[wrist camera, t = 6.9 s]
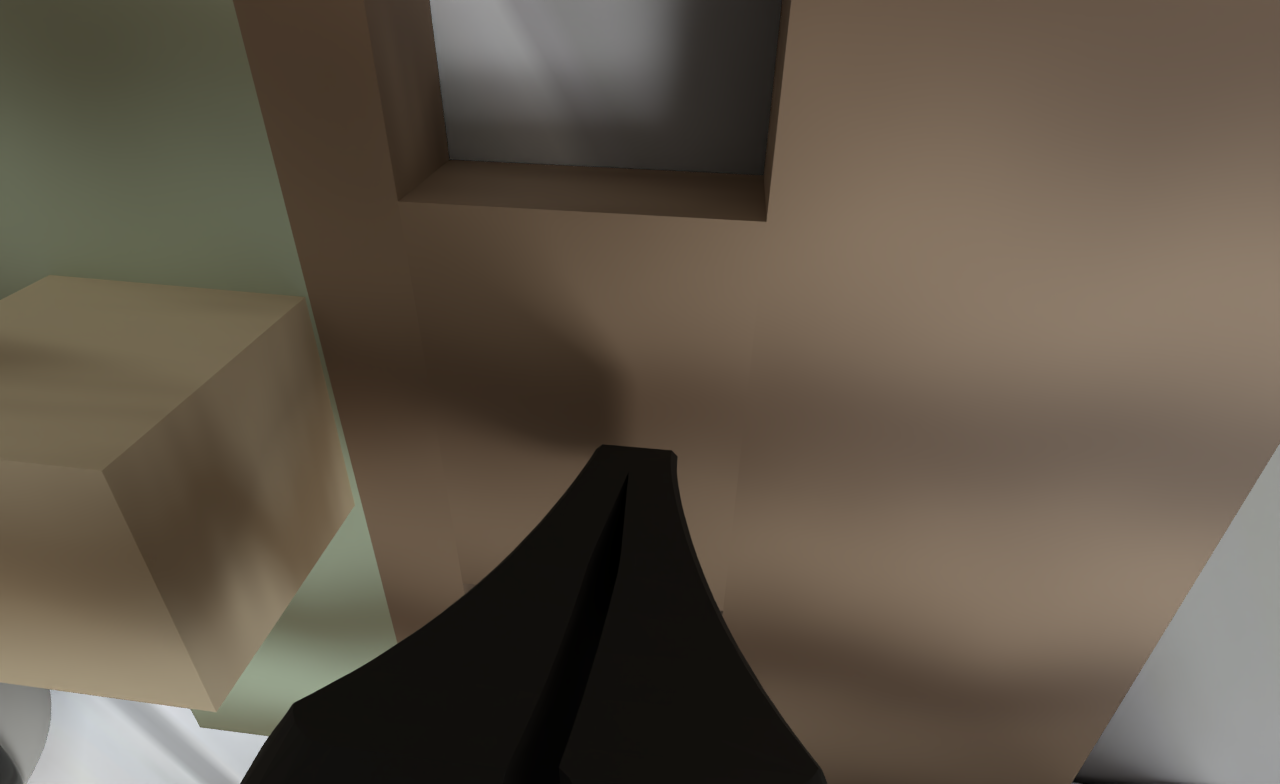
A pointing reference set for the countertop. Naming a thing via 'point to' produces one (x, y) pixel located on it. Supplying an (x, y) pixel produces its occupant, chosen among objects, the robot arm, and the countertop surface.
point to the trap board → (734, 331)
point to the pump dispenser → (22, 730)
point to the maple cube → (157, 484)
